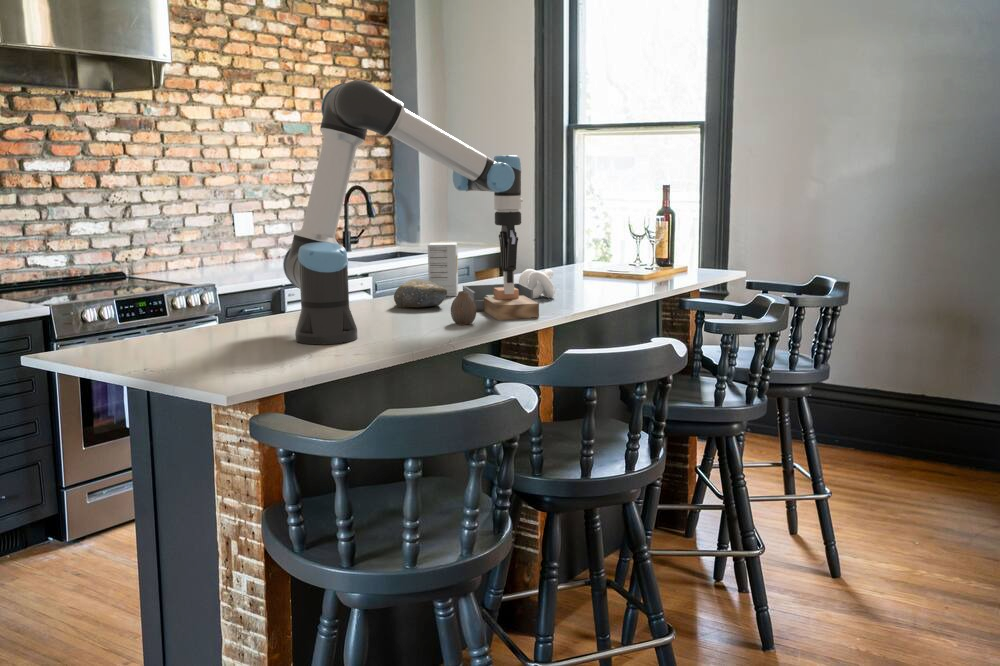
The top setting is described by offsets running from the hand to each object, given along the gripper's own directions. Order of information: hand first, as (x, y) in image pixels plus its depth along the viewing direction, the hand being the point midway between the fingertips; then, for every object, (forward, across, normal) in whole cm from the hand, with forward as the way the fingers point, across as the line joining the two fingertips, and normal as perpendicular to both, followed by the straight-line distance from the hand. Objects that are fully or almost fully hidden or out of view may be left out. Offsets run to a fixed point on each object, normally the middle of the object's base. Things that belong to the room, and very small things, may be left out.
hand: (508, 293), depth 262 cm
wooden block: (+6, -2, 0) cm, 6 cm away
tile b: (+3, +13, 0) cm, 14 cm away
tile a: (+2, +4, 0) cm, 4 cm away
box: (+6, +14, 0) cm, 15 cm away
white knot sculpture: (+6, +26, -17) cm, 31 cm away
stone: (+6, +19, +23) cm, 30 cm away
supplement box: (+6, +42, +11) cm, 44 cm away
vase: (+6, -14, +16) cm, 22 cm away
